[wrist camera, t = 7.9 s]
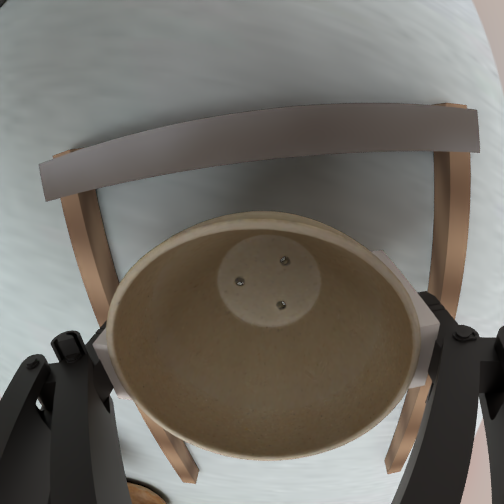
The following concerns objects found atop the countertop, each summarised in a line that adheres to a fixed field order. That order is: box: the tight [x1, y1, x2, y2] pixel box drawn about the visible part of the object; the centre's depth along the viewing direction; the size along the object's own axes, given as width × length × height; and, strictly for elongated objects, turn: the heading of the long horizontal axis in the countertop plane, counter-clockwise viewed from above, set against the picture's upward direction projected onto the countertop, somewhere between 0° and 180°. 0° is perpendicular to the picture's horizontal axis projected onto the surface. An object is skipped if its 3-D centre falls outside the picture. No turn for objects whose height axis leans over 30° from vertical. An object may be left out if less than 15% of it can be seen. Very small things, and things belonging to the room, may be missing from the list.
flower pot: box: [106, 211, 421, 461], centre depth 12 cm, size 10×10×7 cm
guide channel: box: [39, 103, 480, 484], centre depth 19 cm, size 34×24×5 cm
